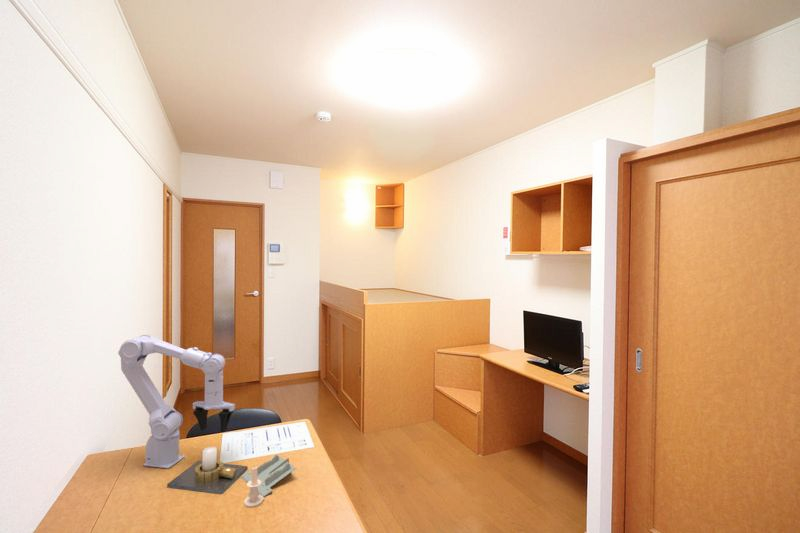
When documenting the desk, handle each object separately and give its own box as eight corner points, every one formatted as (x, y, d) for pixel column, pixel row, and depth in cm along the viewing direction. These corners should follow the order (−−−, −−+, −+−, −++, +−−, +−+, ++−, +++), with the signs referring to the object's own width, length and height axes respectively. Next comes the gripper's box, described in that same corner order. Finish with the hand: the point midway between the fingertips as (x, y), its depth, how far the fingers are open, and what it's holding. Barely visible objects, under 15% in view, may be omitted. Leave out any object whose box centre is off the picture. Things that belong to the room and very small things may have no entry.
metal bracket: (276, 447, 131) (300, 464, 121) (280, 461, 133) (304, 479, 122) (236, 474, 122) (258, 494, 111) (240, 489, 123) (263, 511, 112)
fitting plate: (167, 487, 116) (167, 474, 116) (198, 463, 130) (198, 452, 130) (221, 494, 113) (222, 481, 113) (247, 469, 127) (247, 457, 127)
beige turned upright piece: (240, 502, 110) (241, 466, 110) (256, 494, 114) (257, 459, 114) (250, 509, 107) (251, 472, 107) (267, 501, 111) (267, 465, 111)
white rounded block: (199, 477, 120) (199, 452, 120) (207, 470, 124) (208, 446, 124) (210, 479, 119) (211, 453, 119) (218, 472, 123) (219, 447, 123)
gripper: (186, 393, 129) (186, 433, 129) (226, 396, 127) (226, 436, 127) (200, 386, 136) (200, 424, 136) (238, 389, 134) (238, 427, 134)
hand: (213, 430), depth 132 cm, fingers open, 7 cm apart
